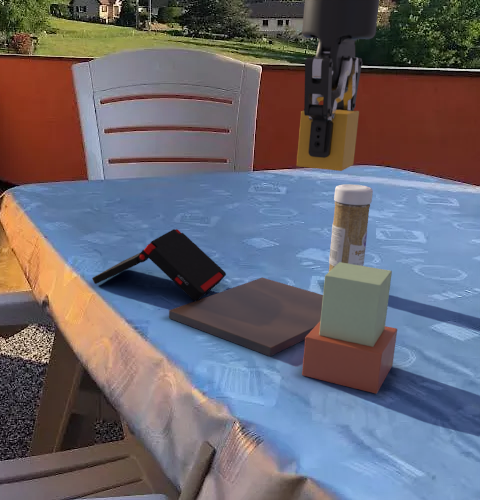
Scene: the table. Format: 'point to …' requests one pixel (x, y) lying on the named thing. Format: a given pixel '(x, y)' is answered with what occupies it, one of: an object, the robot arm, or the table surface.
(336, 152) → the top block
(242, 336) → the board
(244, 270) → the table surface
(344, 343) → the base block
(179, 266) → the handheld gaming console
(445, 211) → the table surface
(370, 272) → the middle block
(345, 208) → the spice jar
